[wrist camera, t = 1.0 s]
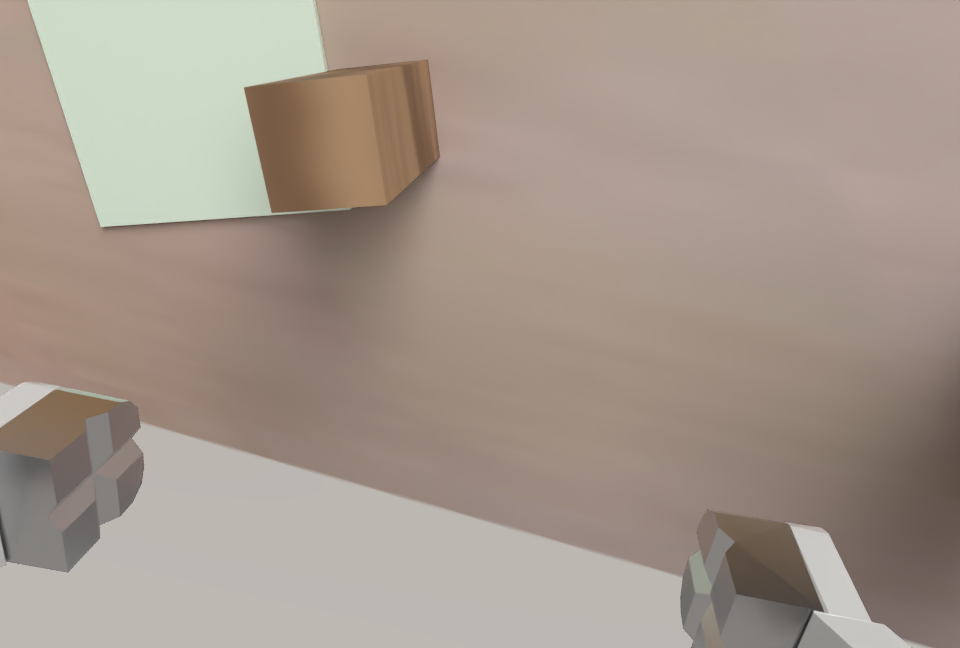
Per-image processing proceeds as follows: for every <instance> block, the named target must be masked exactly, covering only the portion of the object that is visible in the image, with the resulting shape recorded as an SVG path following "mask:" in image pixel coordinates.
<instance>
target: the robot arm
mask: <svg viewBox="0 0 960 648" xmlns="http://www.w3.org/2000/svg"><path fill="white" fill-rule="evenodd" d="M139 428H140V420H139V413H138V407H137V406H135V405H134V404H133V403H132V402H131V401H129V400H124V399H119V398H114V397H110V396H105V395H100V394H95V393H91V392H86V391H81V390H76V389H71V388H64V387H61V386H56V385H51V384H46V383H40V382H23V383H21V384H20V385H18V386H16V387H15V388H13V389H12V390H10V391H9V392H7V393H6V394H4V395H3V396H1V397H0V568H2V567H3V566H5V565H6V562H12V563H17V564H23V565H29V566H35V567H40V568H46V569H51V570H57V571H63V572H69V571H70V569H72V568H73V566H74V565H75V564H76V563H77V562H78V561H79V560H80V559H81V558H82V557H83V556H84V555H85V554H86V553H87V551H88V550H89V549H90V548H91V547H92V546H93V545H94V544H95V543H96V542H97V541H98V540H99V538H100V525H101V524H103V523H106V522H108V521H111V520H113V519H115V518H118V517H120V516H121V515H122V514H123V513H124V512H125V510H126V509H127V508H128V507H129V506H130V505H131V504H132V503H133V501H134V498H135V496H136V494H137V492H138V490H139V488H140V486H141V484H142V477H143V471H144V460H143V453H142V451H141V450H140V448H139V447H138V446H137V445H136V443H135V442H134V441H133V439H132V437H133V436H134V434H135V433H136V432H137V431H138V430H139ZM697 535H698V540H699V545H700V549H701V550H699V551H698V552H696V553H695V554H693V555H692V556H691V557H689V558H688V561H687V565H686V568H685V572H684V575H683V581H682V589H681V597H680V598H681V599H680V600H681V617H682V624H683V629H684V630H685V631H686V632H687V633H688V634H689V636H690V637H691V638H692V639H693V640H694V641H693V644H692V647H691V648H912V647H911V646H909V645H908V644H907V643H906V642H905V641H903V640H902V639H901V638H900V637H899V636H897V635H896V634H895V633H894V632H893V631H891V630H890V629H889V628H888V627H887V626H885V625H883V624H879V623H874V622H872V621H871V619H870V617H869V615H868V613H867V611H866V609H865V607H864V605H863V603H862V601H861V599H860V597H859V595H858V593H857V591H856V589H855V587H854V584H853V582H852V580H851V578H850V576H849V574H848V572H847V570H846V568H845V566H844V564H843V562H842V560H841V558H840V556H839V554H838V552H837V550H836V548H835V546H834V544H833V542H832V540H831V538H830V536H829V534H828V533H827V532H826V531H825V530H824V529H822V528H820V527H814V526H808V525H801V524H795V523H789V522H782V523H781V522H776V521H770V520H765V519H759V518H753V517H748V516H742V515H737V514H731V513H725V512H720V511H714V510H708V509H707V511H706V512H705V514H704V515H703V517H702V519H701V522H700V525H699V528H698V531H697Z"/></svg>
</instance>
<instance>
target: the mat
mask: <svg viewBox="0 0 960 648" xmlns="http://www.w3.org/2000/svg"><path fill="white" fill-rule="evenodd" d="M27 1H28V4H29V7H30V10H31V13H32V16H33V19H34V22H35V26H36V29H37V32H38V35H39V38H40V41H41V44H42V47H43V50H44V53H45V56H46V60H47V63H48V66H49V69H50V72H51V75H52V78H53V81H54V84H55V87H56V90H57V93H58V97H59V100H60V103H61V106H62V109H63V112H64V115H65V118H66V121H67V124H68V127H69V131H70V134H71V137H72V140H73V143H74V146H75V149H76V152H77V155H78V158H79V161H80V165H81V168H82V171H83V174H84V177H85V180H86V183H87V186H88V189H89V192H90V195H91V198H92V202H93V205H94V208H95V211H96V214H97V217H98V220H99V223H100V226H101V227H107V226H122V225H136V224H151V223H165V222H180V221H194V220H209V219H223V218H238V217H253V216H267V215H282V214H296V213H311V212H325V211H340V210H350V209H352V208H338V209H324V210H310V211H295V212H281V213H272V212H271V208H270V203H269V199H268V194H267V190H266V186H265V181H264V177H263V172H262V168H261V163H260V159H259V154H258V150H257V145H256V141H255V136H254V132H253V127H252V123H251V118H250V114H249V109H248V105H247V100H246V96H245V91H244V87H249V86H254V85H259V84H264V83H269V82H274V81H280V80H285V79H290V78H295V77H300V76H305V75H311V74H316V73H321V72H326V71H328V68H327V63H326V57H325V51H324V46H323V40H322V34H321V29H320V23H319V17H318V12H317V6H316V0H27Z"/></svg>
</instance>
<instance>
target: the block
mask: <svg viewBox="0 0 960 648" xmlns="http://www.w3.org/2000/svg"><path fill="white" fill-rule="evenodd" d="M244 91H245V96H246V100H247V105H248V109H249V114H250V118H251V123H252V127H253V132H254V136H255V141H256V145H257V150H258V154H259V159H260V163H261V168H262V172H263V177H264V181H265V186H266V190H267V194H268V199H269V203H270V208H271V212H272V213H281V212H295V211H310V210H324V209H338V208H353V207H367V206H382V205H388V204H389V203H390V202H391V201H392V200H393V199H394V198H395V197H396V196H397V195H398V194H400V193H401V192H402V191H403V190H404V189H405V188H406V187H407V186H408V185H409V184H411V183H412V182H413V181H414V180H415V179H416V178H417V177H418V176H419V175H420V174H421V173H423V172H424V171H425V170H426V169H427V168H428V167H429V166H430V165H431V164H432V163H433V162H435V161H436V160H437V159H438V158H439V157H440V154H439V146H438V138H437V130H436V122H435V113H434V105H433V97H432V89H431V81H430V73H429V65H428V60H421V61H412V62H402V63H393V64H383V65H374V66H364V67H355V68H346V69H336V70H331V71H326V72H321V73H316V74H311V75H305V76H300V77H295V78H290V79H285V80H280V81H274V82H269V83H264V84H259V85H254V86H249V87H244Z"/></svg>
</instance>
